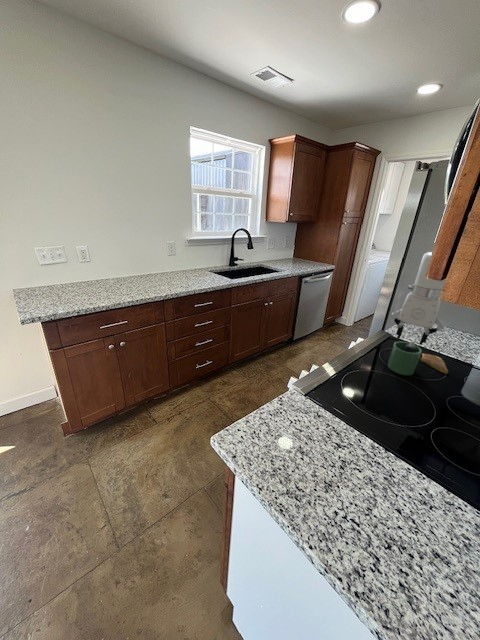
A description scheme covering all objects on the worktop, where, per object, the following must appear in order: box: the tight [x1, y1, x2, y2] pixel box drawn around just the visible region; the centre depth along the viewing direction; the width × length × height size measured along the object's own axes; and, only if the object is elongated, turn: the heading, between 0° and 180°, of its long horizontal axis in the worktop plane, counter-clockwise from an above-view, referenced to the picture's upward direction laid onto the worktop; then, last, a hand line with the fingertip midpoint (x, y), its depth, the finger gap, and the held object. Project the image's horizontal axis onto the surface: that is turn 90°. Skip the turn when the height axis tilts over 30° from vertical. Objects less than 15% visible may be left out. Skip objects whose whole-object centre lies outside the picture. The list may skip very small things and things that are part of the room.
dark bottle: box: [404, 340, 416, 353], centre depth 95 cm, size 3×3×11 cm
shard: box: [420, 352, 449, 375], centre depth 100 cm, size 11×8×2 cm
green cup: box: [387, 341, 422, 376], centre depth 96 cm, size 9×9×9 cm
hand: (409, 339), depth 93 cm, fingers open, 6 cm apart
